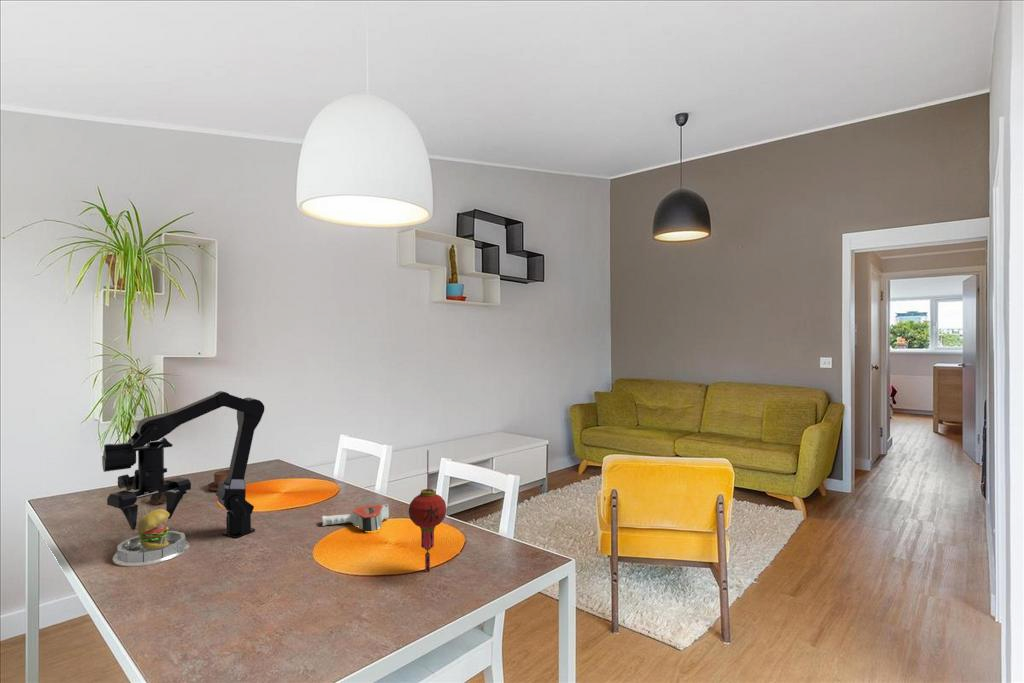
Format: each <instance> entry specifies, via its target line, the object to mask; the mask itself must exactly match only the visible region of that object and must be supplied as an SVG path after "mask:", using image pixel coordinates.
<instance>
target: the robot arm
mask: <svg viewBox="0 0 1024 683" xmlns="http://www.w3.org/2000/svg"><path fill="white" fill-rule="evenodd" d="M222 407H226V408H228V409H232V410H234V411H236V421H237V431H236V436H235V440H234V444H233V450H232V454H231V459H230V464H229V469H228V470H229V473H228V476H227V478H226V479H225V481H224V482H221V481H219V483H218V491H216V493H215V496H216V497H217V502H218V503H219V504H220V505H221V507H223V508H224V509H225V510H226V524H225V525H226V527H225V528H226V530H224V531H222V532H221V534H222V535H223V536H227V537H232V538H235V539H237V538H240V537H242V536H245V535H248V534H250V533H253V532H256V528H253V527H252V514H253V511H254V508H255V506H254V505H253V504H252V503H250V502H248V500H246V496H247V494H246V492H247V489H246V482H245V477H246V471H247V467H248V461H249V458H250V452H251V447H252V443H253V438H254V434H255V430H256V428H257V427H258V425H260V424H259V423H260V422H261V420H262V417H263V415H264V412H265V405H264V403H263V402H262V401H261V400H259V399H257V398H252V397H245V398H241V397H238V396H236V395H233V394H230V393H228V392H226V391H222V390H220V391H217V392H215V393H213V394H211V395H209V396H206V397H204V398H202V399H199V400H198V401H194V402H192V403H190V404H187V405H185V406H183V407H180V408H177V409H175V410H174V411H170V412H165V413H158V414H155V415H150V416H147V417H144V418H142V419H140V420H139V421H138V423H137V425H136V430H135V432H134V433H132V436H131V437H130V438H129V439H128V440H127V442H123V443H122V442H121V443H106V444H104V446H103V452H102V456H101V459H102V461H101V462H102V470H103V472H104V473H105V472H114V471H120V470H127V469H131V468H132V466H134V465H135V464H136V463H137V466H138V467H137V469H134V475H132V476H130V475H129V474H128V473H126V474H123V475H119V476H117V486H118V488H119V489H125V490H120V491H117V492H112V493H110V494H109V495H108V497H107V499H106V500H107V502H106V505H107V506H110V507H113V508H116V509H120V510H121V512H122V513H123V515H124V516H125V518H126V521H127V523H128V525H129V527H130V529H131V530H133V531H135V530H136V529H137V528H136V527H137V524H138V522H137V521H138V510H139V509H138V508H139V505H138V504H136V502H138V499H141V498H145V497H151V495H154V494H158V493H162V492H164V493H165V496H166V502H165V505H166V506H165V508H166V509H165V510H166V511H168V512H169V514H170V515H169V517H168V518H167V520H170V519H171V518H172V516H173V514H174V513H175V510H176V509H177V507H178V505H179V503H180V502H181V500H182V499H183V498H182V497H184V495H185V494H187V492H188V491H190V490H191V489H192V482H191V481H190V479H189V478H184V477H174V478H171V479H165V473H167V472H168V468H166V467H165V448H172V447H173V446H174V445H173V444H172V443H171V442H169V440H167V438H166V437H165V436H167V435H169V434H170V433H172V432H173V431H174V430H176V429H177V428H178V427H180V426H181V425H183V424H185V423H188V422H190V421H192V420H195V419H197V418H199V417H201V416H203V415H206V414H209V413H210V412H213V411H215V410H218V409H220V408H222ZM164 480H166V482H165V483H164ZM131 490H134V491H131ZM155 490H156V491H155ZM181 498H182V499H181Z"/></svg>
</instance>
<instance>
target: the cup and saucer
mask: <svg viewBox="0 0 1024 683" xmlns="http://www.w3.org/2000/svg"><path fill="white" fill-rule="evenodd" d="M228 473H229V469H224V470H218V471H216V472H214V473H213V477H214V478H213V480H214V481H213V482H210V483H208V484H206V488H207V489H208V490H210V491H214V492H217V491H218V483H219V481H221V482H224V481H225V479H226V478H227V476H228Z"/></svg>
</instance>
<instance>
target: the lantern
mask: <svg viewBox="0 0 1024 683" xmlns="http://www.w3.org/2000/svg"><path fill="white" fill-rule="evenodd" d="M426 456H427V462H426V463H427V467H426V468H427V469H426V470H427V472H426V473H427V474H426V475H427V478H426V479H427V481H426V486H427V487H426V488H425V489H422V490H420V493H419V494H418V495H416V496H414V497H413V499H412V500H411V502H409V507H408V515H409V519H410V520H411V521H412V523H413V524H414V525H415V526H416V527H419V529H420V531H421V536H420V542H421V548H422V549H424V550H425V551H426V552H425V554H424V556H425V558H424V566H425V567H424V568H425V569H424V572H426V571H427V572H426V573H429V572H431V553H430V552H429V551H430V550H431V549H432V548H433V547H435V528H436V526H438V525H441V523H442V522H443V521H444V519H445V518H446V516H447V511H448V510H447V503H446V501H445V500H444V498H443V497H442V496H440V495H439V494H437V493H436V490H435V489H432V488H429V450H427V453H426Z"/></svg>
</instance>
